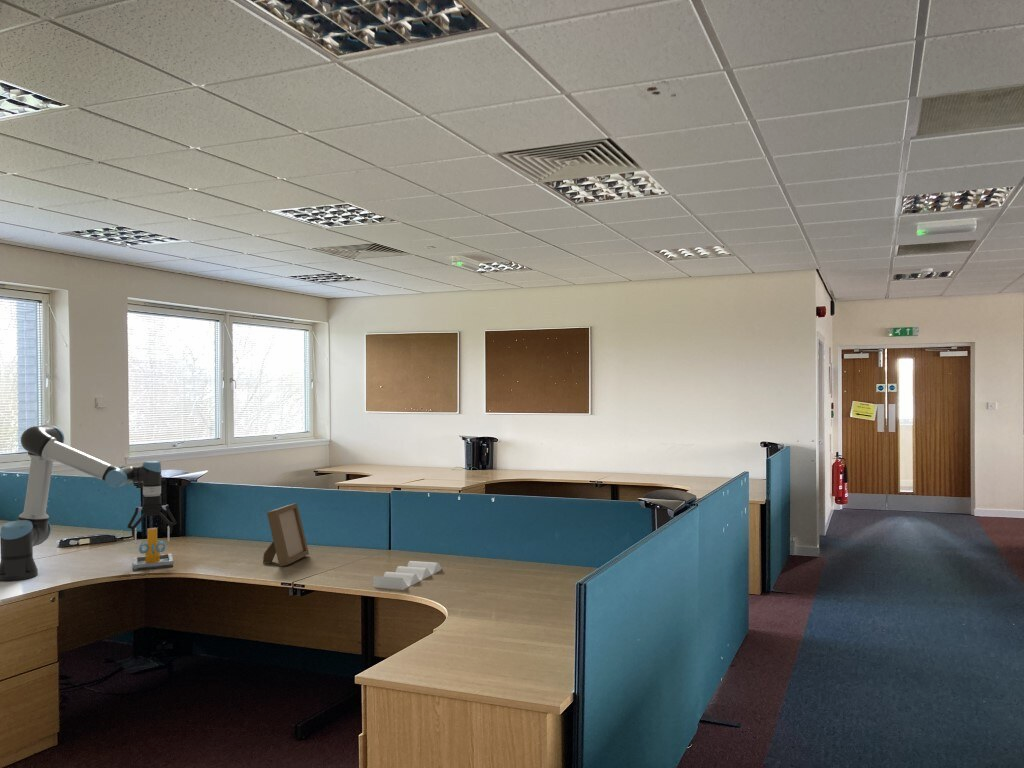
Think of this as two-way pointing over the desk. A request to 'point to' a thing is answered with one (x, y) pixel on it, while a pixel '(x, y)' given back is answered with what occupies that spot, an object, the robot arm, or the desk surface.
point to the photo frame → (286, 536)
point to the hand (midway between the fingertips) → (152, 542)
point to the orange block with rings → (152, 547)
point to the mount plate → (164, 561)
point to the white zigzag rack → (406, 575)
